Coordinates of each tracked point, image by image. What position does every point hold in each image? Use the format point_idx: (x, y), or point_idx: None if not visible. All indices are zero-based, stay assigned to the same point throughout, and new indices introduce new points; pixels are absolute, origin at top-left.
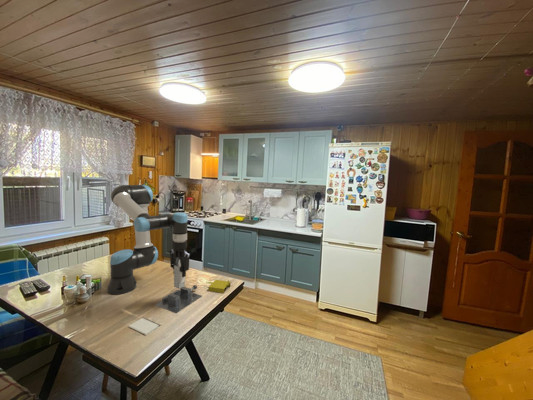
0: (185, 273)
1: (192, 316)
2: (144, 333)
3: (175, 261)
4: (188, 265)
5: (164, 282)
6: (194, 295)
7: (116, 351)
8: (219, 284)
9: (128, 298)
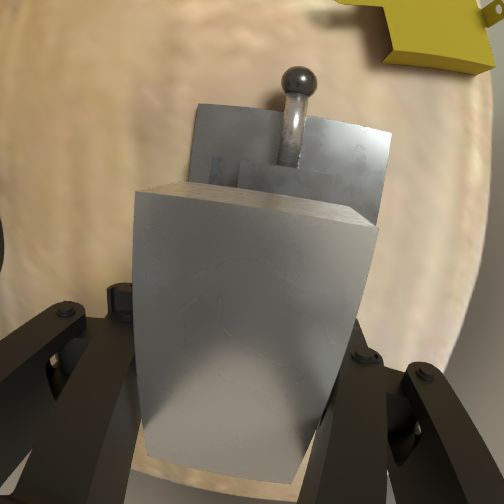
0: (362, 340)
1: (421, 324)
2: None
3: (119, 496)
4: (466, 438)
5: (48, 88)
6: (334, 144)
7: (271, 488)
8: (436, 9)
9: (37, 287)
